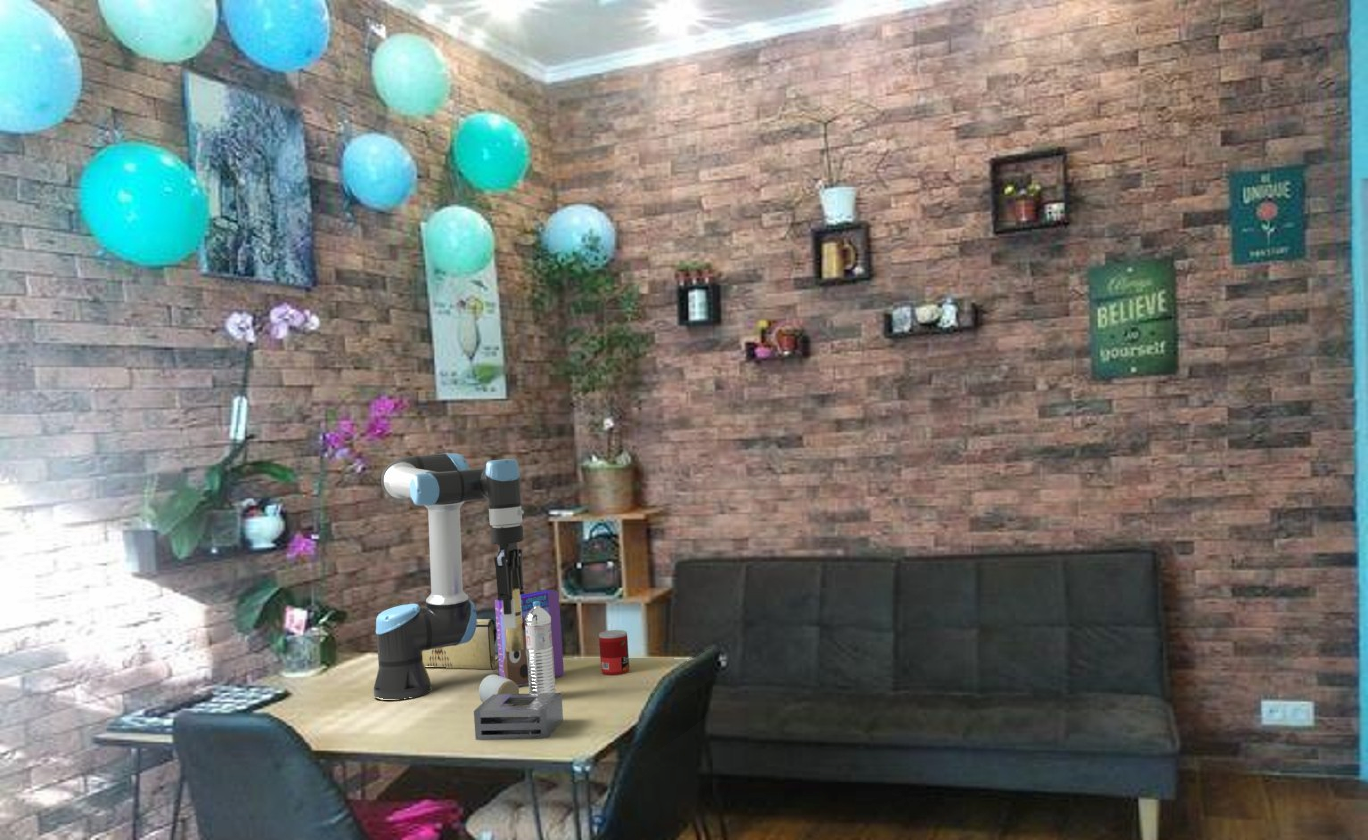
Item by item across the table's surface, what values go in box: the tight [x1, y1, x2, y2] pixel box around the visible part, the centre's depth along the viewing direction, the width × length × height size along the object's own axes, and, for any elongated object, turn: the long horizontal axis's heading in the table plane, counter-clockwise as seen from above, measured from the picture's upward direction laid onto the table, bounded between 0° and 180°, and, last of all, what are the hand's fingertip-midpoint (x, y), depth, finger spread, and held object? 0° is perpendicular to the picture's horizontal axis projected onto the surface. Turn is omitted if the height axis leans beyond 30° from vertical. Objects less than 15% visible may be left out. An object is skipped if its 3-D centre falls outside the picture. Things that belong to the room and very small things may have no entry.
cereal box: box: [494, 589, 565, 688], centre depth 268 cm, size 17×5×24 cm, turn 129°
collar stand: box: [473, 692, 564, 740], centre depth 225 cm, size 17×13×6 cm
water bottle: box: [524, 601, 557, 694], centre depth 251 cm, size 7×7×25 cm
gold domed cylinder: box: [504, 588, 523, 652], centre depth 225 cm, size 4×4×14 cm
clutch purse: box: [422, 618, 499, 671], centre depth 290 cm, size 30×7×15 cm, turn 72°
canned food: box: [598, 629, 630, 676], centre depth 272 cm, size 8×8×11 cm
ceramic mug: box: [478, 674, 520, 706], centre depth 247 cm, size 11×8×8 cm
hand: (513, 625), depth 225 cm, fingers closed on gold domed cylinder, 4 cm apart
